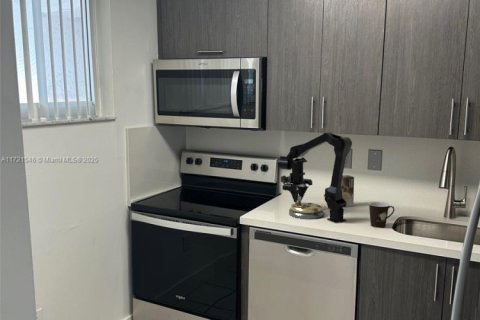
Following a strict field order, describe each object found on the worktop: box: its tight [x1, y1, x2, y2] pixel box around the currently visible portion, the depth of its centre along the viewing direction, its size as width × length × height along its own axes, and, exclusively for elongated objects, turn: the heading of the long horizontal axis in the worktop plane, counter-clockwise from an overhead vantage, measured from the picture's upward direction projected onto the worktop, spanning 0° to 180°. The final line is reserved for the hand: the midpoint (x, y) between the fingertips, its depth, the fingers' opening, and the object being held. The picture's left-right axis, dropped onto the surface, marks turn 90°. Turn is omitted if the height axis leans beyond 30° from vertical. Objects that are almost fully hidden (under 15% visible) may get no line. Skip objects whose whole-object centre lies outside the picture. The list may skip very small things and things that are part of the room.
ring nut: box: [290, 194, 323, 214], centre depth 217 cm, size 15×15×6 cm
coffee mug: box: [368, 201, 395, 229], centre depth 197 cm, size 12×9×10 cm
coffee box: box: [341, 174, 355, 208], centre depth 234 cm, size 9×6×16 cm
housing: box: [288, 208, 325, 220], centre depth 217 cm, size 17×17×2 cm
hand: (297, 201), depth 221 cm, fingers open, 4 cm apart
